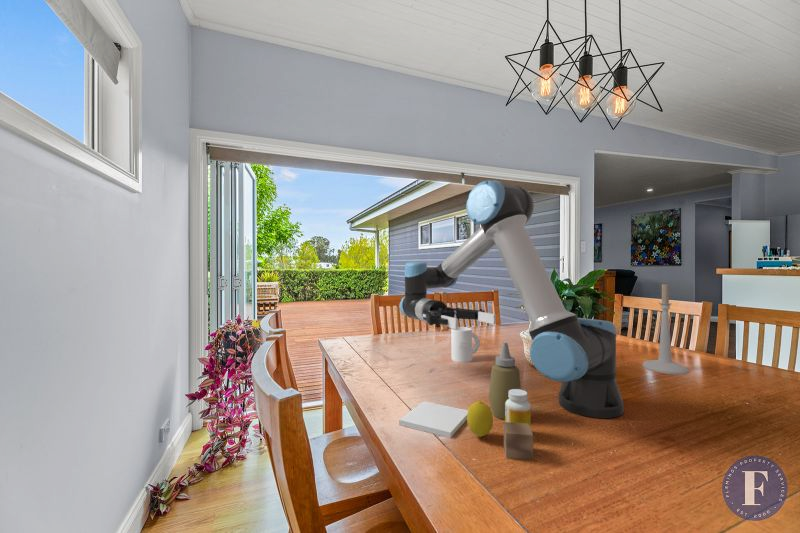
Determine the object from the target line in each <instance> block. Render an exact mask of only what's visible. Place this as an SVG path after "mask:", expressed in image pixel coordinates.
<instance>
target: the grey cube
mask: <svg viewBox="0 0 800 533" xmlns="http://www.w3.org/2000/svg"><path fill="white" fill-rule="evenodd" d="M503 449H504V454H505V459H511V460H521V461H522V460H525V461H534V434H533V432H532V428H531V429H530V426H529V424H524V423H509V422H505V421H503Z"/></svg>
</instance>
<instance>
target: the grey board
mask: <svg viewBox="0 0 800 533" xmlns="http://www.w3.org/2000/svg"><path fill="white" fill-rule="evenodd" d="M468 410H469V409H463V408H457V407H453V406H448V405H443V404H438V403H434V402H429V401H424V400H423V401H421V403H419V404H417V405H416V406H415V407H414V408H413V409H411V410H410V411H409V412H407V413H406V414H404V415H403V416H402V417H401V418H399V419H398V425H399V426H401V427H406V428H410V429H413V430H418V431H422V432H425V433H429V434H433V435H438V436H441V437H445V438H450V439H451V438H452V437H453V436H454V435H455V433H456V432H457V431H458V430H460V428H461V427H462V426H463V425H464V423H465V422H467V414H468Z"/></svg>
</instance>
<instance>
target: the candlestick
mask: <svg viewBox="0 0 800 533" xmlns="http://www.w3.org/2000/svg"><path fill="white" fill-rule="evenodd" d="M669 297H670V284H668V283H667V284H666V283H663V284H661V302H659V305H660V309H661V311H662V312H661V318H660V319H661V320H660V335H659V336H660V337H659V352H658V359H651V360H647V361H645V362H643V364H642V367H643V368H645V369H646V370H647V371H648V370H649V371H652V372H655V373H656V372H657V373H661V374H667V375H668V374H669V375H686V374H688V373H689V368H688V367H686V366H685V365H683V364H680V363H678V362H675V361H673V359H672V352H671V351H672V350H671V349H672V348H671V346H672V345H671V333H670V316H669V315H670V314H669V310H670V309H671V307H670V306H671V305H672V303H670V298H669Z"/></svg>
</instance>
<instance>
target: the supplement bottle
mask: <svg viewBox="0 0 800 533" xmlns="http://www.w3.org/2000/svg"><path fill="white" fill-rule="evenodd" d="M528 396H529V395H528V392H527V391H526V390H525V389H524V390H523V389H521V390H520V389H511V390H509V393H508V397H509V399H508V400H507V401H506V403H505V419H504V422H509V423H524V424H529V426H530V429H531V430H532V428H531V427H532V426H531V425H532V424H531V422H532V420H531V419H532V418H531V417H532V416H531V415H532V414H531V412H532V411H531V409H532V408H531V403H530V402H529V401H528V399H529V398H528Z"/></svg>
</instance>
